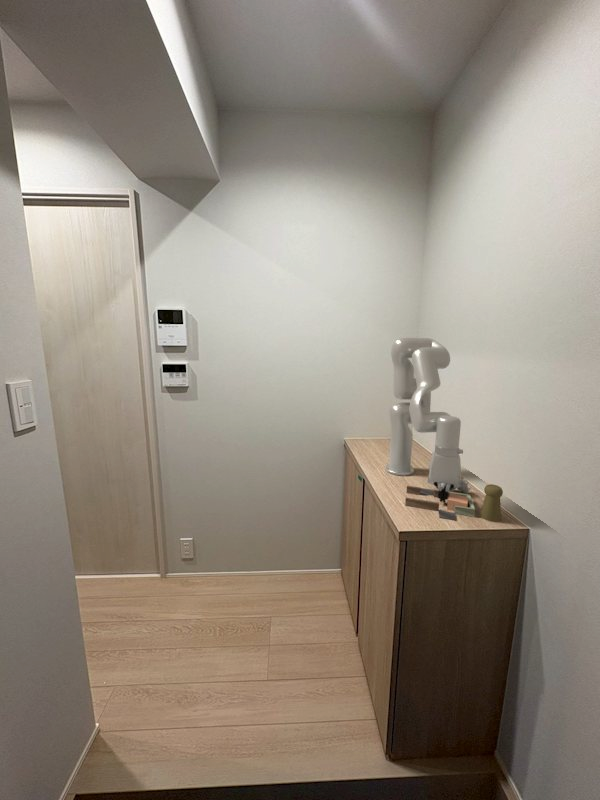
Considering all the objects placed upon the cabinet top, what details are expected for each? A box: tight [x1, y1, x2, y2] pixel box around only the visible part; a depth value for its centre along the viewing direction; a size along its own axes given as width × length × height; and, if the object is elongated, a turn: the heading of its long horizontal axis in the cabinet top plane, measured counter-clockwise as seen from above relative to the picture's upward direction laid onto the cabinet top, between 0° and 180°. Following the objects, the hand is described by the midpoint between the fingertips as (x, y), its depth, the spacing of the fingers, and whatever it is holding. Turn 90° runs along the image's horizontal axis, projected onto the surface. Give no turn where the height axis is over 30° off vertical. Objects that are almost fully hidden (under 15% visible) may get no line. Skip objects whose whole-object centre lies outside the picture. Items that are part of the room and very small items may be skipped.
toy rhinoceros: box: [441, 478, 472, 494], centre depth 126 cm, size 7×12×8 cm, turn 81°
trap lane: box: [404, 485, 476, 522], centre depth 117 cm, size 22×22×2 cm
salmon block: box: [446, 493, 469, 512], centre depth 113 cm, size 6×6×4 cm
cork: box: [479, 483, 504, 523], centre depth 107 cm, size 6×6×11 cm
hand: (442, 500), depth 116 cm, fingers closed
